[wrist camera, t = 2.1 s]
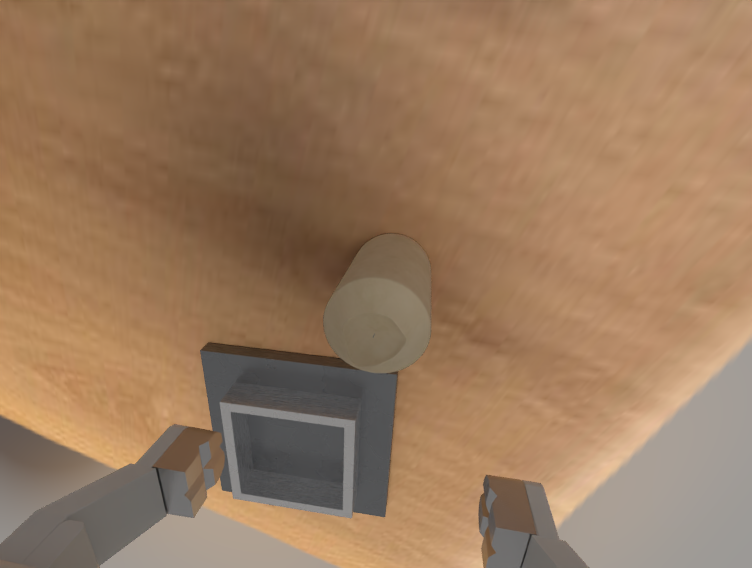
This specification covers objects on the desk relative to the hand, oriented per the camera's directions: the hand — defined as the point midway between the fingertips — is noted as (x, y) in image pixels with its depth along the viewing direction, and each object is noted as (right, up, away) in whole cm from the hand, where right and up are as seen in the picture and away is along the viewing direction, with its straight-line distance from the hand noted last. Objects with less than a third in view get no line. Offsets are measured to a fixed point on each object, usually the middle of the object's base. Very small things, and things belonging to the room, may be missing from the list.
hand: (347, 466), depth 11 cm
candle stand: (-6, -8, +22) cm, 24 cm away
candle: (+2, +7, +16) cm, 17 cm away
